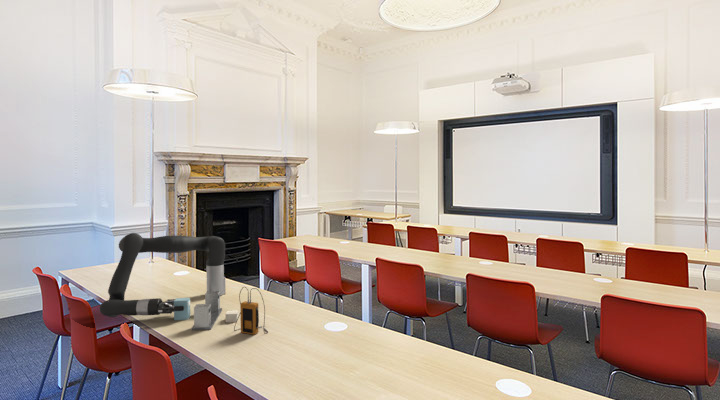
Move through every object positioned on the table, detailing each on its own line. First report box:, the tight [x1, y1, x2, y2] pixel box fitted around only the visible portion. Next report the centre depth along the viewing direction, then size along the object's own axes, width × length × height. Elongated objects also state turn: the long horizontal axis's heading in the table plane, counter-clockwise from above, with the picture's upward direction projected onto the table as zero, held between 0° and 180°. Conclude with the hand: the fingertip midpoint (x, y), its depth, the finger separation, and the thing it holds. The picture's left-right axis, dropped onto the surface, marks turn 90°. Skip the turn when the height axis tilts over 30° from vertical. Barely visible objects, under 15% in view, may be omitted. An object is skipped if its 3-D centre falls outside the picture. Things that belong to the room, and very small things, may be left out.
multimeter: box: [233, 286, 269, 336], centre depth 171 cm, size 15×10×20 cm
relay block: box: [225, 309, 239, 323], centre depth 183 cm, size 5×5×4 cm
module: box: [173, 297, 191, 321], centre depth 185 cm, size 4×6×9 cm
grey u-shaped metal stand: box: [191, 290, 223, 332], centre depth 183 cm, size 26×8×10 cm, turn 9°
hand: (186, 305), depth 185 cm, fingers open, 8 cm apart
